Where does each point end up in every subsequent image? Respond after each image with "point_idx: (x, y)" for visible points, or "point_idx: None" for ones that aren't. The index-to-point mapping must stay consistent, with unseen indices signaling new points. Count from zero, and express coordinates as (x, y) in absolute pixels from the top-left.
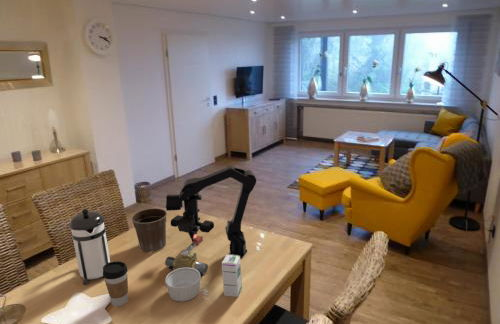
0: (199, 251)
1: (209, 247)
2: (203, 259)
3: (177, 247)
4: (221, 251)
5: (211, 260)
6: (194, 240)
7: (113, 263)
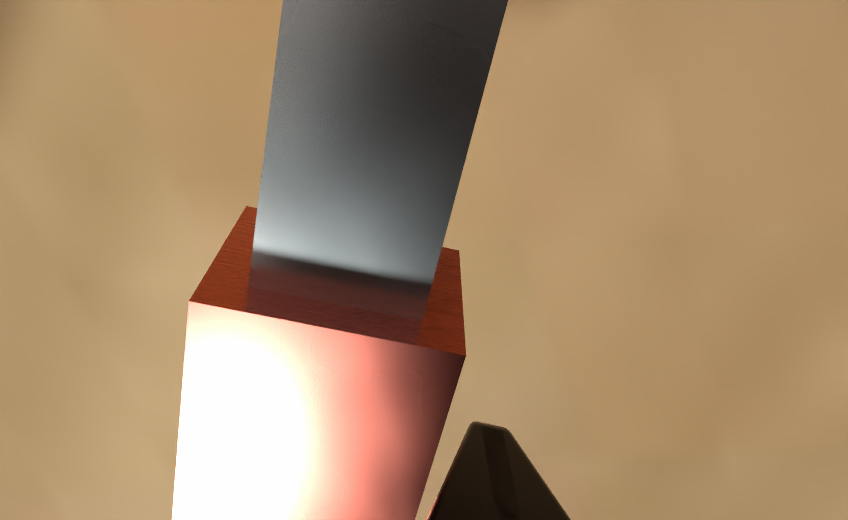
0: None
1: None
2: (246, 126)
3: (842, 447)
4: (31, 395)
5: (66, 105)
6: (371, 421)
7: None
